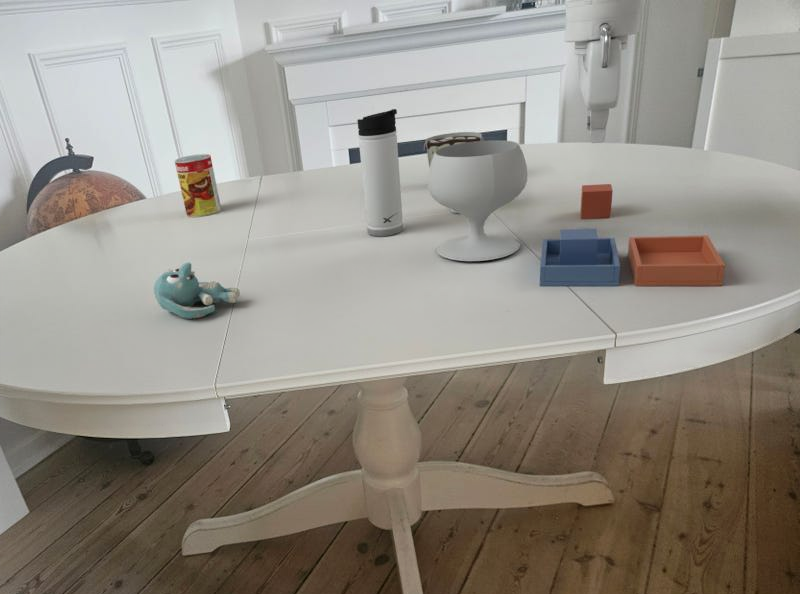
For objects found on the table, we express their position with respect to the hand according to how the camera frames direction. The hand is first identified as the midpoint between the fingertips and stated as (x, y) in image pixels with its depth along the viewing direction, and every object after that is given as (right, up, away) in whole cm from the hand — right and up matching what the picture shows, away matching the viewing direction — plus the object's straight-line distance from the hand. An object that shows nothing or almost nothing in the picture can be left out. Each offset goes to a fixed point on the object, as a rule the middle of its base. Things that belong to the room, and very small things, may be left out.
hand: (594, 135), depth 87 cm
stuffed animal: (-55, -24, +3) cm, 60 cm away
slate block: (-4, -19, -3) cm, 19 cm away
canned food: (-64, +2, +56) cm, 85 cm away
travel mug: (-26, -9, +24) cm, 37 cm away
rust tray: (+7, -20, -7) cm, 22 cm away
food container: (-9, +7, +50) cm, 51 cm away
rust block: (+8, -7, +17) cm, 20 cm away
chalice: (-14, -14, +9) cm, 22 cm away
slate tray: (-4, -19, -3) cm, 20 cm away
